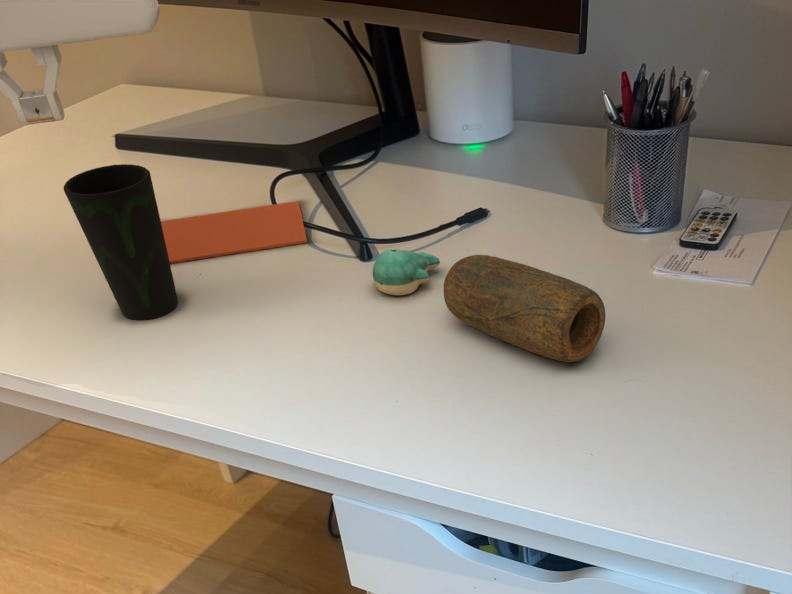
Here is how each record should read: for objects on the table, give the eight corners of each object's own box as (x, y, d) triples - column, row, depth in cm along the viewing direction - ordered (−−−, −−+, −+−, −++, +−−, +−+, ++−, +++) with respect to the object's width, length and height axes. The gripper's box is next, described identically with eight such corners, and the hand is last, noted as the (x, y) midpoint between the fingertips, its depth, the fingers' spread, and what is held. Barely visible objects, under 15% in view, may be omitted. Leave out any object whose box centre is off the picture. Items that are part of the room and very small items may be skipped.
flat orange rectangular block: (121, 271, 96) (120, 268, 96) (127, 228, 105) (126, 226, 104) (307, 242, 98) (306, 240, 98) (299, 203, 107) (298, 200, 106)
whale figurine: (361, 290, 89) (355, 251, 87) (413, 263, 93) (408, 225, 90) (403, 305, 86) (398, 266, 84) (454, 277, 90) (451, 238, 87)
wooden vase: (615, 348, 78) (619, 271, 73) (565, 382, 75) (566, 304, 70) (486, 303, 85) (481, 231, 81) (435, 332, 82) (427, 259, 77)
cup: (142, 286, 93) (99, 161, 85) (204, 293, 91) (166, 166, 82) (95, 320, 88) (44, 192, 80) (159, 329, 86) (114, 198, 78)
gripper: (124, -152, 59) (188, 89, 69) (-206, -115, 57) (-91, 127, 67) (118, -143, 54) (187, 113, 64) (-240, -103, 52) (-111, 155, 62)
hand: (43, 121), depth 65 cm, fingers closed
